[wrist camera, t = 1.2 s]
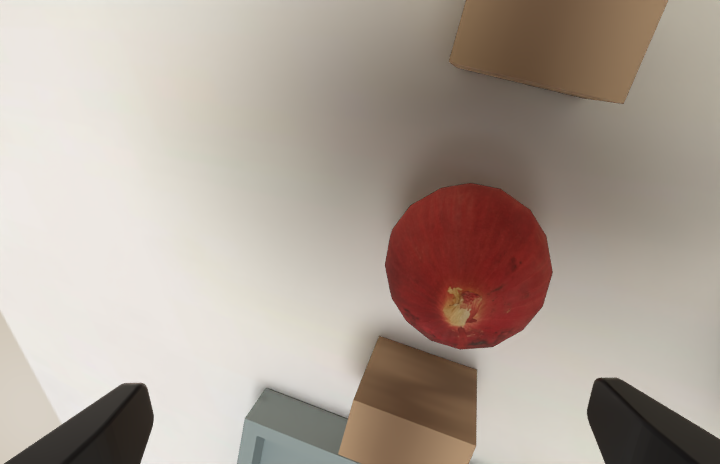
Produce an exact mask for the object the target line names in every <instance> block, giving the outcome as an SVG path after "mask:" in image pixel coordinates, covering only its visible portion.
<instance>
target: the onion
mask: <svg viewBox="0 0 720 464" xmlns="http://www.w3.org/2000/svg"><path fill="white" fill-rule="evenodd" d="M385 268H386V273H387V278H388V283H389V288H390V293H391V296H392V299H393V301H394V302H395V304H396V305H397V307H398V309H399V310H400V312H401V313H402V315H403V316H404V318H405V320H406V321H407V322H408V323H409V324H411V325H412V326H413V327H414V328H416V329H417V330H418V331H419V332H421V333H422V334H423V335H424V336H426V337H427V338H428V339H429V340H431V341H434V342H437V343H441V344H444V345H447V346H451V347H454V348H457V349H472V348H486V347H494V346H495V345H497V344H499V343H501V342H502V341H504V340H506V339H508V338H510V337H511V336H513V335H515V334H517V333H518V332H520V331H522V330H523V329H524V328H525V327H526V325H527V324H528V323H529V322H530V321H531V320H532V318H533V317H534V316H535V315H536V314H537V312H538V311H539V310H540V309H541V308H542V307H543V303H544V300H545V297H546V293H547V290H548V287H549V283H550V280H551V276H552V273H553V272H552V266H551V261H550V255H549V249H548V243H547V238H546V235H545V233H544V231H543V230H542V228H541V227H540V225H539V223H538V222H537V220H536V218H535V217H534V215H533V214H532V212H531V210H530V209H528V208H527V207H525V206H524V205H523V204H521V203H520V202H518V201H517V200H515V199H514V198H513V197H511V196H510V195H508V194H507V193H506V192H504V191H503V190H501V189H498V188H493V187H488V186H483V185H478V184H473V183H468V184H462V185H456V186H450V187H444V188H440V189H439V190H437V191H435V192H433V193H432V194H430V195H428V196H426V197H424V198H423V199H421V200H419V201H417V202H416V203H414V204H412V205H410V207H409V208H408V209H407V211H406V212H405V213H404V215H403V216H402V217H401V219H400V220H399V221H398V223H397V224H396V225H395V226H394V228H393V229H392V232H391V235H390V240H389V245H388V251H387V256H386V262H385Z"/></svg>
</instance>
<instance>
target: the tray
mask: <svg viewBox="0 0 720 464" xmlns="http://www.w3.org/2000/svg"><path fill="white" fill-rule="evenodd" d="M347 421H348V419H346V418H343V417H340V416H338V415H335V414H333V413H330V412H327V411H325V410H322V409H319V408H317V407H314V406H312V405H309V404H306V403H304V402H301V401H299V400H296V399H293V398H291V397H288V396H286V395H283V394H280V393H278V392H275V391H273V390H270V389H267V388H266V389H265V391H264V392H263V393H262V395H261V396H260V398H259V399H258V400H257V402H256V403H255V405H254V406H253V408H252V409H251V410H250V412H249V413H248V415H247V416H246V418H245V420H244V426H243V432H242V438H241V444H240V449H239V455H238V461H237V464H361V463H359V462H356V461H354V460H351V459H349V458H346V457H344V456H341V455H339V454H338V453H339V449H340V446H341V442H342V439H343V435H344V432H345V428H346V425H347Z"/></svg>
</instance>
